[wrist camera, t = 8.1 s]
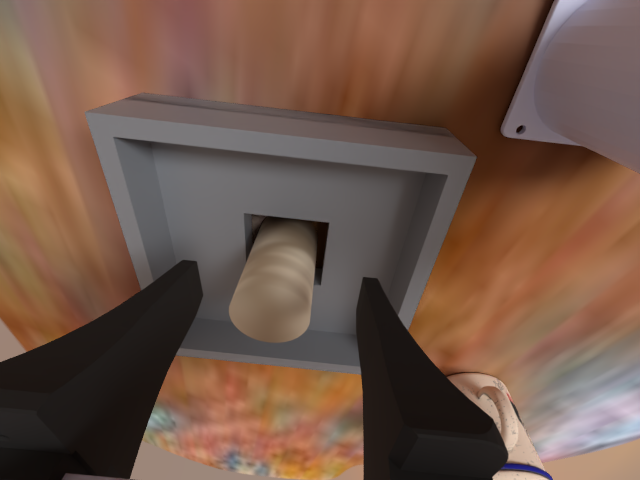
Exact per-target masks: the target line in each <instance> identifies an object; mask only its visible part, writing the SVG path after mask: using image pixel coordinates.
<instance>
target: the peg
mask: <svg viewBox="0 0 640 480" xmlns="http://www.w3.org/2000/svg"><path fill="white" fill-rule="evenodd" d="M317 243H318V232H317V228H316V226H315V224H314V223H313V222H312V221H310V220H301V219H292V218H283V217H274V216H267V217H266V218H265V219H264V221H263V222H262V224H261V227H260V229H259V232H258V234H257V237H256V239H255V242H254V244H253V247H252V249H251V252H250V255H249V257H248V260H247V262H246V265H245V267H244V270H243V272H242V275H241V277H240V280H239V282H238V285H237V287H236V290H235V293H234V295H233V298H232V300H231V303H230V306H229V315H230V319H231V321H232V322H233V324H234V325H235V326H236V328H237V329H239V330H240V331H241V332H242V333H244V334H245V335H247V336H249V337H251V338H253V339H256V340H259V341H263V342H270V343H281V342H287V341H291V340H293V339H296V338H298V337H299V336H301V335H302V334H303V333H304V332H305V331H306V330H307V328H308V326H309V323H310V316H311V305H312V295H313V284H314V274H315V264H316V253H317Z"/></svg>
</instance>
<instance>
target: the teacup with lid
mask: <svg viewBox="0 0 640 480" xmlns="http://www.w3.org/2000/svg"><path fill="white" fill-rule="evenodd" d="M447 378H448V379H449V380H450V381H451V382H452V383H453V384H454V385H455V386H456V387H457V388H458V389H459V390H460V391H461V392H462V393H463V394H464V395H465V396H467V397H468V398H469V399H470V400H471V401H472V402H474V403H475V404H476V405H477V406H478V407H480V408H481V409H482V410H483V411H484V412H485V413H487V414H488V415H489V416H490V417H491V418H493V420H494V422H495V424H496V426H497V428H498V430H499V432H500V434H501V436H502V438H503V441H504V443H505V446H506V448H507V451H508V454H509V456H508V461H507V462H506V464H505V465H504V466H503V467H502V468H501V469H500V470H499V471H498V472H497V473H496V474H495V475H494V476H493V477H492V478H493V480H553V479H552V477H551V476H550V475H549V474H548V473H547V472H546V471H545V469H544V467H543V465H542V463H541V460H540V458H539V456H538V454H537V452H536V450H535V448H534V445H533V443H532V441H531V439H530V437H529V435H528V433H527V430H526V428H525V426H524V424H523V422H522V420H521V418H520V415H519V413H518V411H517V409H516V407H515V405H514V403H513V400H512V398H511V396H510V394H509V392H508V390H507V388H506V386H505V385H504V384H503V383H502V382H501V381H500V380H499V379H497V378H495V377H493V376H490V375H486V374H481V373H461V374H455V375H451V376H448V377H447Z"/></svg>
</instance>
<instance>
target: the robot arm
mask: <svg viewBox="0 0 640 480" xmlns="http://www.w3.org/2000/svg"><path fill="white" fill-rule="evenodd" d="M521 125H523V128H522V130H521V131H520V132H518V133H516V129H517V128H518V127H519V126H521ZM501 133H502V134H503V135H504V136H505V137H508V138H517V139H526V140H534V141H543V142H551V143H560V144H569V145H577V146H584V147H586V148H588V149H590V150H592V151H594V152H596V153H598V154H600V155H602V156H604V157H606V158H608V159H611V160H613V161H615V162H617V163H619V164H621V165H623V166H625V167H627V168H629V169H631V170H633V171H635V172H637V173H639V174H640V0H554V2H553V4H552V7H551V9H550V12H549V14H548V16H547V19H546V21H545V23H544V26H543V28H542V31H541V33H540V35H539V38H538V40H537V42H536V45H535V47H534V50H533V52H532V54H531V57H530V59H529V61H528V64H527V66H526V69H525V71H524V73H523V76H522V78H521V81H520V83H519V85H518V88H517V90H516V92H515V95H514V97H513V100H512V102H511V104H510V107H509V109H508V111H507V114H506V116H505V119H504V121H503V123H502V126H501ZM202 298H203V291H202V285H201V280H200V275H199V270H198V265H197V261H191V260H182V261H180V262H179V263H178V264H176V265H175V266H174V267H172V268H171V269H170V270H168V271H167V272H166V273H164V274H163V275H162V276H160V277H159V278H158V279H156V280H155V281H154V282H152V283H151V284H150V285H148V286H147V287H146V288H144V289H143V290H141V291H140V292H138V293H137V294H135V295H134V296H132V297H131V298H130V299H128V300H127V301H125V302H124V303H122V304H121V305H119V306H117V307H116V308H114V309H113V310H111V311H109V312H108V313H106V314H104V315H102V316H101V317H99V318H97V319H95V320H94V321H92V322H90V323H88V324H86V325H84V326H82V327H80V328H78V329H76V330H74V331H72V332H70V333H68V334H66V335H64V336H62V337H60V338H58V339H56V340H54V341H51V342H49V343H47V344H45V345H42V346H40V347H38V348H35V349H33V350H31V351H28V352H26V353H23V354H21V355H18V356H16V357H13V358H10V359H8V360H5V361H2V362H0V480H133V479H130V476H131V473H132V469H133V466H134V463H135V459H136V457H137V454H138V450H139V447H140V444H141V441H142V438H143V435H144V433H145V430H146V427H147V424H148V421H149V418H150V415H151V413H152V410H153V407H154V405H155V402H156V399H157V397H158V394H159V391H160V389H161V386H162V384H163V381H164V379H165V376H166V374H167V372H168V369H169V367H170V365H171V363H172V361H173V359H174V357H175V355H176V353H177V352H178V350H179V348H180V346H181V344H182V342H183V340H184V338H185V336H186V334H187V333H188V331H189V329H190V327H191V325H192V323H193V321H194V319H195V317H196V314H197V312H198V309H199V306H200V304H201V301H202ZM356 335H357V343H358V352H359V360H360V368H361V377H362V388H363V429H364V480H493V478H492V477H493V476H494V475H495V474H496V473H497V472H498V471H499V470H500V469H501V468H502V467H503V466H504V465H505V464H506V462H507V461H508V456H509V454H508V451H507V448H506V446H505V443H504V441H503V438H502V436H501V434H500V432H499V430H498V428H497V426H496V424H495V422H494V420H493V418H491V417H490V416H489V415H488V414H487V413H485V412H484V411H483V410H482V409H481V408H480V407H478V406H477V405H476V404H475V403H474V402H472V401H471V400H470V399H469V398H468V397H467V396H465V395H464V394H463V393H462V392H461V391H460V390H459V389H458V388H457V387H456V386H455V385H454V384H453V383H452V382H451V381H450V380H449V379H448V378H447V377H446V376H445V375H444V374H443V373H442V372H441V371H440V370H439V369H438V368H437V367H436V366H435V365H434V363H433V362H432V361H431V360H430V359H429V358H428V356H427V355H426V354H425V353H424V352H423V350H422V349H421V348H420V347H419V345H418V344H417V343H416V341H415V340H414V339H413V337H412V336H411V335H410V333H409V332H408V330H407V329H406V327H405V326H404V324H403V323H402V321H401V320H400V318H399V317H398V315H397V313H396V312H395V310H394V308H393V307H392V305H391V303H390V301H389V299H388V298H387V296H386V294H385V292H384V290H383V288H382V286H381V284H380V282H379V280H378V279H377V278H370V277H363V279H362V284H361V289H360V293H359V298H358V303H357V308H356Z"/></svg>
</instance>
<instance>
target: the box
mask: <svg viewBox="0 0 640 480" xmlns="http://www.w3.org/2000/svg"><path fill="white" fill-rule="evenodd" d="M85 115H86V118H87V122H88V125H89V128H90V131H91V134H92V137H93V140H94V144H95V147H96V150H97V153H98V156H99V159H100V162H101V166H102V169H103V172H104V175H105V178H106V181H107V184H108V188H109V191H110V194H111V197H112V200H113V203H114V206H115V209H116V213H117V216H118V219H119V222H120V225H121V228H122V231H123V235H124V238H125V241H126V244H127V247H128V250H129V253H130V257H131V260H132V263H133V266H134V269H135V272H136V275H137V279H138V282H139V285H140V288H141V290H143V289H144V288H146V287H147V286H148V285H150V284H151V283H152V282H154V281H155V280H156V279H158V278H159V277H160V276H162V275H163V274H164V273H166V272H167V271H168V270H170V269H171V268H172V267H174V266H175V265H176V264H178V263H179V262H180V261H182V260H191V261H197V265H198V270H199V275H200V280H201V285H202V291H203V298H202V301H201V304H200V306H199V309H198V312H197V314H196V317H195V319H194V321H193V323H192V325H191V327H190V329H189V331H188V333H187V334H186V336H185V338H184V340H183V342H182V344H181V346H180V348H179V350H178V352H177V353H176V355H177V356H187V357H196V358H206V359H216V360H225V361H235V362H245V363H254V364H264V365H274V366H283V367H293V368H303V369H312V370H322V371H332V372H341V373H351V374H361V368H360V360H359V352H358V343H357V335H356V308H357V303H358V298H359V293H360V289H361V284H362V279H363V277H370V278H377V279H378V280H379V282H380V284H381V286H382V288H383V290H384V292H385V294H386V296H387V298H388V299H389V301H390V303H391V305H392V307H393V308H394V310H395V312H396V313H397V315H398V317H399V318H400V320H401V321H402V323H403V324H404V326H405V327H406V329H407V330H408V329H409V326H410V324H411V321H412V319H413V316H414V314H415V311H416V309H417V306H418V304H419V301H420V299H421V296H422V294H423V291H424V289H425V286H426V284H427V281H428V279H429V276H430V274H431V271H432V269H433V266H434V264H435V261H436V259H437V256H438V254H439V251H440V249H441V246H442V244H443V241H444V239H445V236H446V234H447V231H448V229H449V226H450V224H451V221H452V219H453V216H454V214H455V211H456V209H457V206H458V204H459V201H460V199H461V196H462V194H463V191H464V189H465V186H466V184H467V181H468V179H469V176H470V174H471V171H472V169H473V166H474V164H475V161H476V159H477V156H475V155H474V154H473V153H472V152H471V151H470V150H469V149H468V148H467V147H466V146H465V145H464V144H463V143H461V142H460V141H459V140H458V139H457V138H456V137H455V136H454V135H453V134H452V133H451V132H450V131H449V130H448V129H446V128H441V127H433V126H424V125H415V124H407V123H398V122H389V121H381V120H372V119H364V118H355V117H346V116H338V115H329V114H320V113H312V112H303V111H295V110H286V109H277V108H269V107H260V106H252V105H243V104H234V103H226V102H217V101H208V100H200V99H191V98H183V97H174V96H165V95H157V94H148V93H140V94H137V95H134V96H131V97H128V98H125V99H122V100H119V101H116V102H113V103H110V104H107V105H104V106H101V107H98V108H95V109H92V110H89V111H86V112H85ZM251 214H256V215H265V216H274V217H283V218H292V219H301V220H310V221H319V222H328V228H327V235H326V243H325V250H324V258H323V265H322V269H321V268H315V274H314V284H313V295H312V305H311V316H310V323H309V326H308V328H307V330H306V331H305V332H304V333H303V334H302V335H301V336H299V337H298V338H296V339H293V340H291V341H287V342H281V343H270V342H263V341H259V340H256V339H253V338H251V337H249V336H247V335H245V334H244V333H242V332H241V331H240V330H239V329H237V328H236V326H235V325H234V324H233V322H232V321H231V319H230V315H229V306H230V303H231V300H232V298H233V295H234V293H235V290H236V287H237V285H238V282H239V280H240V277H241V275H242V272H243V270H244V267H245V265H246V262H247V260H248V257H249V255H250V252H251V249H252V247H253V246H252V215H251Z"/></svg>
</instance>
